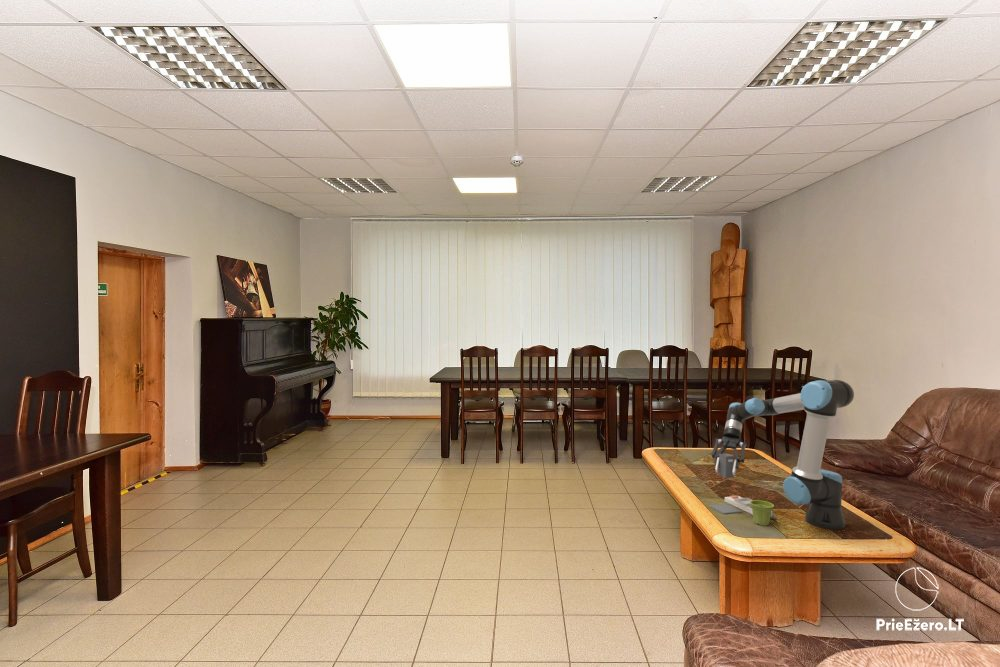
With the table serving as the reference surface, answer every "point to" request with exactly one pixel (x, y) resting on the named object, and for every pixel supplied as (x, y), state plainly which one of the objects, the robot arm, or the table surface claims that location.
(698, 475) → the table surface
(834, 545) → the table surface
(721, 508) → the pad
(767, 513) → the plant pot
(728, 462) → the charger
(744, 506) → the white slab
